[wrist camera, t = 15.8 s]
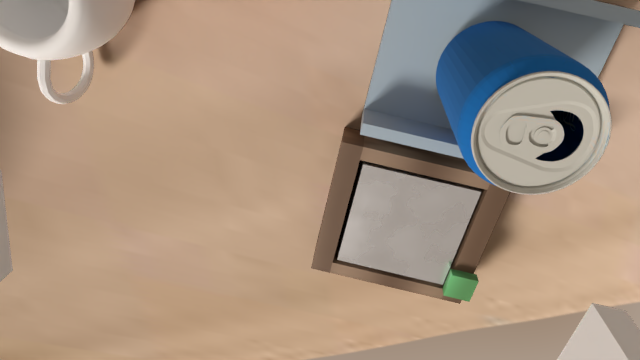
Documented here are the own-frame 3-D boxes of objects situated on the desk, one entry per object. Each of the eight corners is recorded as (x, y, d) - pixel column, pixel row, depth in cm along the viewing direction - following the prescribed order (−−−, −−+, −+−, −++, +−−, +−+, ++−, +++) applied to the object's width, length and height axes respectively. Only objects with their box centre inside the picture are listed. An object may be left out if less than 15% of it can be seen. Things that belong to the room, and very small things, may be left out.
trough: (362, 114, 34) (359, 134, 30) (402, -44, 29) (405, -43, 26) (550, 158, 34) (571, 183, 30) (623, 6, 29) (657, 15, 25)
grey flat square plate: (338, 252, 37) (337, 259, 36) (363, 158, 33) (363, 164, 33) (441, 276, 37) (442, 284, 36) (478, 185, 33) (481, 192, 32)
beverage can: (521, 123, 32) (591, 212, 21) (426, 112, 32) (447, 193, 22) (550, 24, 29) (648, 70, 18) (445, 13, 29) (480, 52, 19)
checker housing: (315, 246, 40) (309, 274, 36) (344, 126, 35) (341, 146, 31) (457, 280, 39) (464, 311, 36) (507, 165, 34) (521, 188, 31)
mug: (27, -105, 30) (-80, -121, 23) (155, -79, 30) (86, -87, 23) (44, 76, 36) (-38, 108, 29) (152, 99, 35) (96, 137, 28)
